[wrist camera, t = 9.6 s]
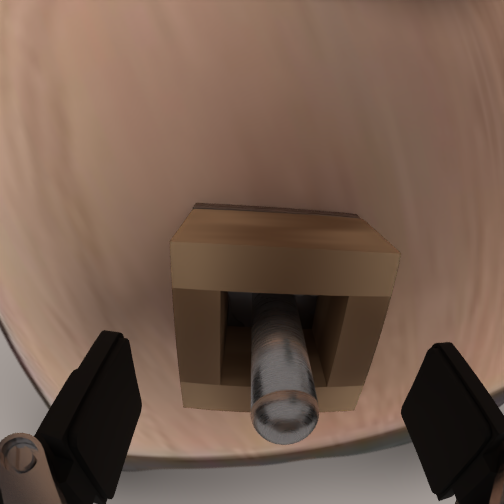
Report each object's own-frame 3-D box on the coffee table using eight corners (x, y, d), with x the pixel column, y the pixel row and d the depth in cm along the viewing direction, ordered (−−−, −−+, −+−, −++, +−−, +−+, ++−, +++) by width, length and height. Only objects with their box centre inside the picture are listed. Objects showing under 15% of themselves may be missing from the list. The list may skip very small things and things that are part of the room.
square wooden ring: (362, 218, 13) (401, 253, 9) (335, 353, 16) (354, 410, 12) (193, 208, 13) (169, 241, 9) (196, 348, 15) (183, 407, 12)
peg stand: (356, 214, 14) (465, 320, 6) (331, 344, 16) (373, 486, 8) (196, 203, 14) (120, 309, 6) (197, 338, 16) (163, 486, 8)
